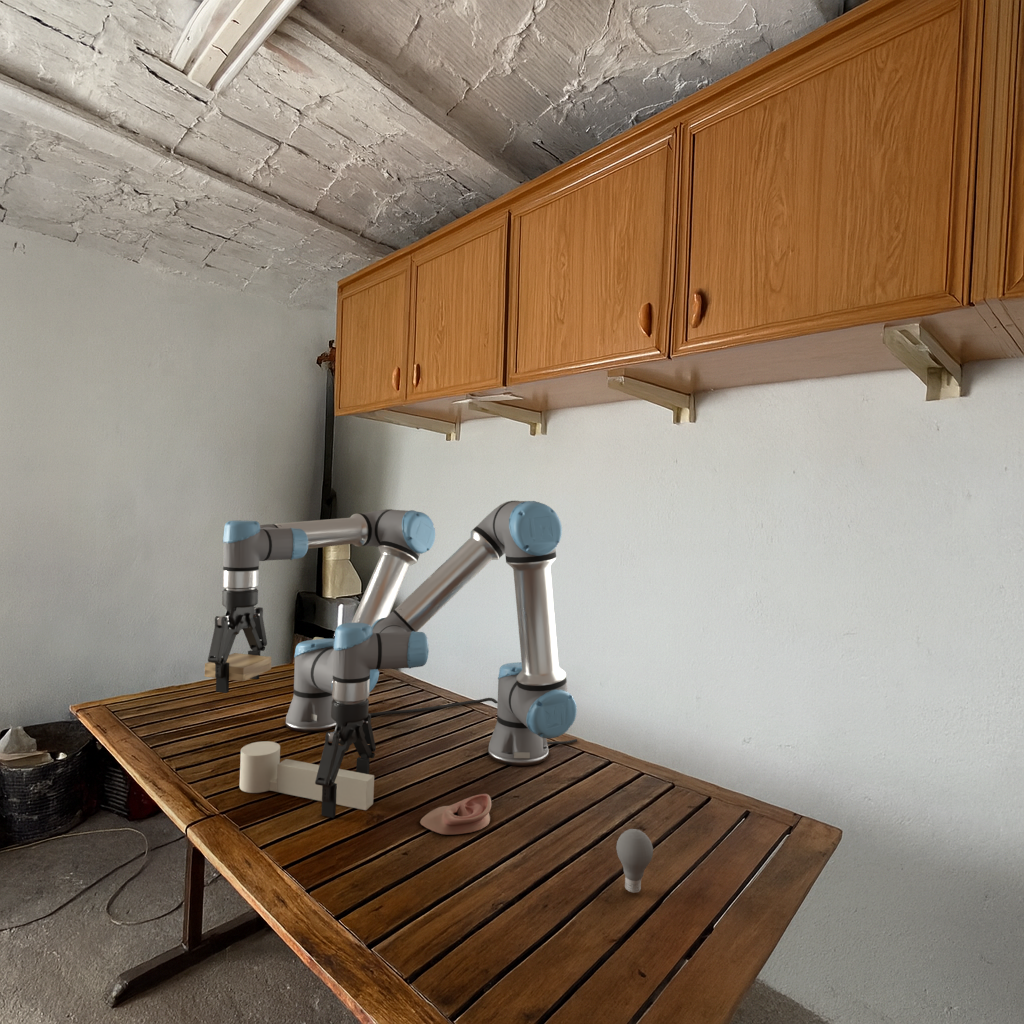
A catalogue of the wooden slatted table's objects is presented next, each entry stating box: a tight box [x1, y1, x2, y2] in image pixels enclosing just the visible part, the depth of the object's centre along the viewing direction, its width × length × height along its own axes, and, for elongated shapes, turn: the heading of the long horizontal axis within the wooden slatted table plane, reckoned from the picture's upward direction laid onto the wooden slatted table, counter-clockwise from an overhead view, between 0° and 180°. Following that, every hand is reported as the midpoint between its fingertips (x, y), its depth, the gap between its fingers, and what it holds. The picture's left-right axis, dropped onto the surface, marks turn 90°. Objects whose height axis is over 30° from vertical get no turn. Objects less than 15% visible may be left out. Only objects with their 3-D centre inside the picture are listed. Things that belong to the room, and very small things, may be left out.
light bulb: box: [615, 828, 654, 894], centre depth 106 cm, size 6×6×10 cm
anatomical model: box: [419, 793, 492, 836], centre depth 126 cm, size 13×4×12 cm
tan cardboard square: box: [204, 652, 272, 682], centre depth 145 cm, size 10×10×3 cm
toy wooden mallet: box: [239, 741, 375, 811], centre depth 135 cm, size 31×8×8 cm, turn 73°
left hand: (238, 684), depth 145 cm, fingers closed on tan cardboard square, 10 cm apart
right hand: (345, 801), depth 132 cm, fingers open, 12 cm apart
